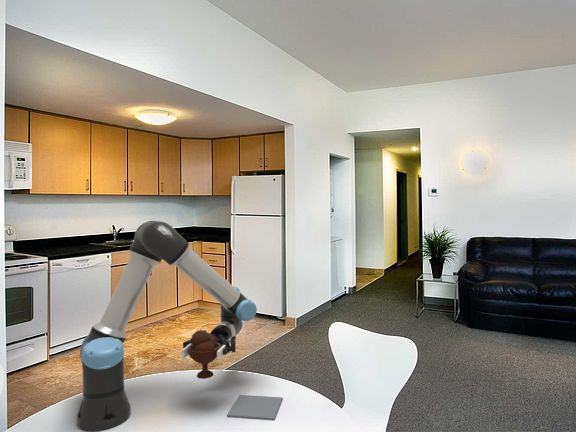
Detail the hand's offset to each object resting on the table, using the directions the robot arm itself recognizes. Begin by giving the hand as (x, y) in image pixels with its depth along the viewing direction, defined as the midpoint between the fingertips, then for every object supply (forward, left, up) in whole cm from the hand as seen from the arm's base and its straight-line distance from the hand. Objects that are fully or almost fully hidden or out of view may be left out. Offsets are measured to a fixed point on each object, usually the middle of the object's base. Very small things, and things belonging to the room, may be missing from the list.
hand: (200, 355), depth 128 cm
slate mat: (+17, +5, -18) cm, 25 cm away
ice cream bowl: (0, +4, -8) cm, 9 cm away
